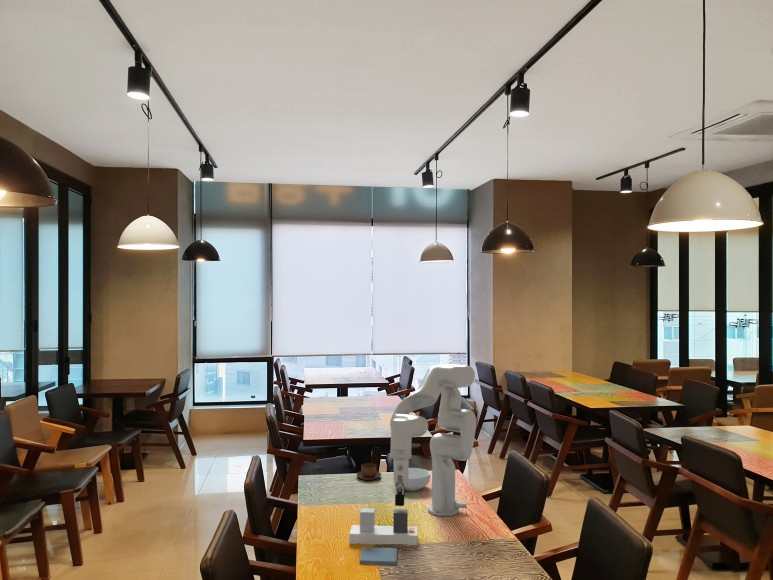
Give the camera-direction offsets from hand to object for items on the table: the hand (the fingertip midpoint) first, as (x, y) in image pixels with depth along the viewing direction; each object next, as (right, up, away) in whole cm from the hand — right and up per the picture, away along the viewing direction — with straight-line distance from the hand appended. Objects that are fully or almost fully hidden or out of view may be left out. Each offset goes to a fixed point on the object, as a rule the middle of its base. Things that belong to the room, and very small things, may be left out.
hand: (399, 501), depth 210 cm
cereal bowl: (+7, -15, +58) cm, 61 cm away
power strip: (-6, -14, +1) cm, 15 cm away
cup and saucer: (-13, -15, +73) cm, 76 cm away
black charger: (0, -12, 0) cm, 12 cm away
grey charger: (-12, -12, +1) cm, 17 cm away
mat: (-7, -14, -13) cm, 21 cm away
